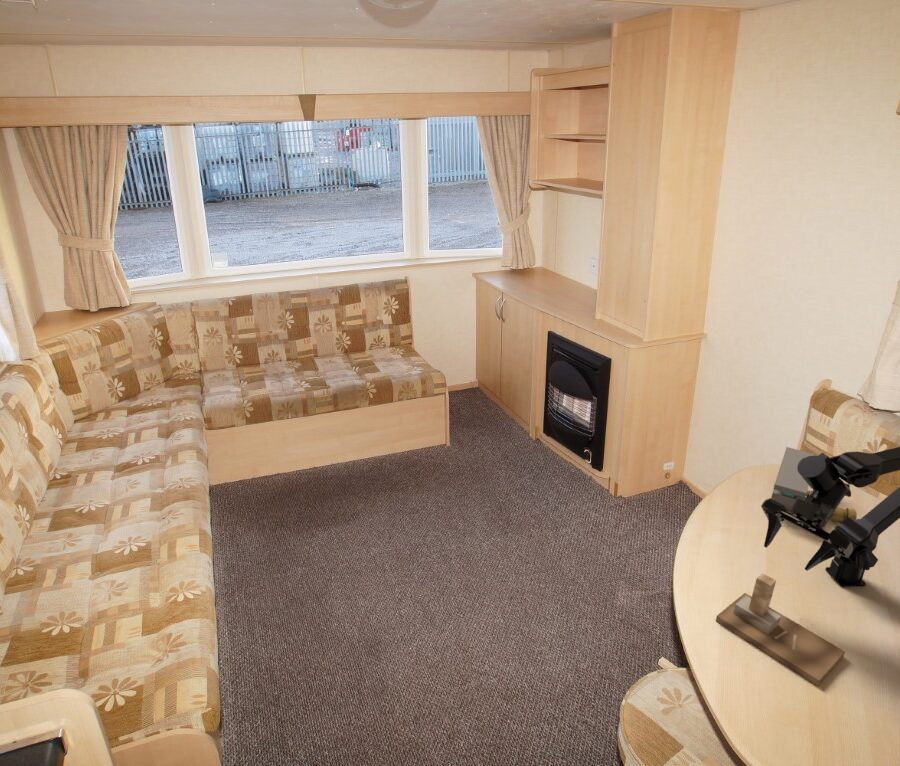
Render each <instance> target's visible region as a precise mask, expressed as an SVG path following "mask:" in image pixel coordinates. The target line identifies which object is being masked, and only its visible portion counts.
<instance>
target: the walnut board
mask: <svg viewBox="0 0 900 766" xmlns="http://www.w3.org/2000/svg"><path fill="white" fill-rule="evenodd" d="M745 596H748V597H749V598H752V595H749V594H748V593H746V592H744V593H743V594H742V595H740V596H739V597H738V598H737V599H735V600H734V601H733V602H731V604H730V605H728V606H727V607H725V608H724V609H723V610H722V611H721V612H720V613H718V614H716V617H715V622H717V623H718V624H720V625H721V626H723V627H724V628H725V629H727V630H729V631H731V632H732V633H734V634H735V635H737V636H739V638H741V639H743V640H745V641H746V642H748V643H750V644H751V645H752V646H754V647H756V648H757V649H759V650H761V651H762V652H764V653H765V654H766V655H768V656H770V657H771V658H773V660H774V659H775V660H776V661H778V662H779V663H781V664H782V665H783V666H785V667H786V668H789V669H790V670H792V672H795V673H796V674H798V675H799V676H801V677H802V678H804V679H805V680H808V682H810V683H812V685H813V684H814V685H815V686H816V687H817V686H819V685H820V684H821V683H822V681H823V680H824V679H826V677H827V676H828V674H830V672H832V671H833V669H834V668H835V667H836V666H837V665H838V663H839V662H840V661H841V660H842V659H843V658H844V656H845V653H846V650H843V649H841V647H838V646H837V645H835V644H834V643H831V642H830V641H828V640H827V639H825V638H822V637H821V636H820V635H818V634H816V633H814V632H812V631H810V630H809V629H808V628H805V626H803V625H801V624H799V623H797V622H796V621H795V620H792V619H791V618H789V617H787V616H785V615H784V614H782V613H780V612H778V611H777V610H775V609H773V608H772V607H770V606H769V608H768V609H770V610H771V611H773V612H775V613H777V614H778V615H780V616H781V618H780V622H779V625H778V626H777V627H776V628H775V629H774V630H773V631H772V632H771V633H769V634H767V633H765V632H763V631H762V630H760V629H758V628H757V627H755V626H754V625H752V624H750V623H749V622H747V621H746V620H744V619H742V618H741V617H739V616H737V615H736V614H734V613H733V612H734V608H735V604H736V603H738V602H739V601H740V600H741V599H742V598H744V597H745Z"/></svg>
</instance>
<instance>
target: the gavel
mask: <svg viewBox="0 0 900 766" xmlns="http://www.w3.org/2000/svg"><path fill="white" fill-rule="evenodd" d="M857 515H858V514H857V510H856V509H855V508H850V507H846V508H843V507H839V506H838V507H837V508H836V510H835V511H834V513H833V516H832V518H830V519H829V521H833V522H838V523H842V522H843V521H844V520H845V519H846V518H848V517H850V518H851V519H853V520H856V519H857Z"/></svg>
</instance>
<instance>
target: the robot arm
mask: <svg viewBox="0 0 900 766" xmlns="http://www.w3.org/2000/svg"><path fill="white" fill-rule="evenodd" d="M797 470H798V473H799V474H800V475H801V476H802V477H803V479H804V480H805V481H806V482H807V484H808V487H809V488H811V489H812V491H811V492H810V494H806V497H805V499H802V498H799V497H797V498H796V500H795V502H794V504H793V506H792V508H791V510H792V511H793V512H794V513H793V514H792V512H788V511H787V510H786V508H785V506H784V505H783V504H781V503H779V502H777V501H775V500H773V499H771V497H769V498H767V499H765V500H764V501H763V502H762V504H761V505H760V507H761V509H762V511H763V513H764V515H765V516H766V518H767V520H768V522H767V524H768V525H767V530H766V534H765V539H764V543H763V547H764V548H765V549H766V548H768V547H769V546H770V545H771V544H772V542H773V540H774V538H775V537H776V536H777V534H778V532H779V531H780V529H781V528H782V523H781V522H784V521H786V522H788V523H790V524H792V525H794V526H796V527H798V528H800V529H801V530H804V531H805V532H808V533H809V534H811V535H814V536H815V537H816V538H817V537H818V539H821V540H822V543H821V545H820V547H819V548H818V550H817V551H816V552H815V554H813V556H812V557H811V559H810V560H809V561H808V562H807V563H806V565H805V567H804V570H805V571H806V572H808V571H809V570H811V569H813V568H814V567H816V566H817V565H820V564H821V563H823V562H825V561H827V560H829V559H831V558H832V559H831V561H830V566H827V567H826V566H825V569H824V570H825V571H826V572H827V573H828V574H829V575H830V577H831V578H832V579H833V580H834V581H835V582H836V583H837V585H838V586H840V587H843V588H844V587H865V586H866V585H867V582H865V581H864V580H863V577H864V576H865V575H864V574H865V571H870V569H871V568H874V567H875V566H876V564H877V563H878V561H879V559H878V558H877V556H876V555H875V554H874V553H873V552H874V550H876V548H877V544H878V541H879V540H878V539H879V536H880V535H881V534H882V533H884V532H885V531H886V530H887V529H888V528H890V527H891V526H892V525H893V524H894V523H896V522H897V521H898V520H899V519H900V486H899V487H897V488H896V489H895V490H894V491H892V492H891V493H890V494H889V495H887V496H886V497H885V498H884V499H883V500H881V501H880V502H879V503H878V504H876V506H874V507H873V508H872V509H871V510H869V512H867V513H866V514H865V515H864V516H862V517H861V518H856V520H853V519H851V518H850V517H848V518H846V519H845V520H844V521H843V522H840V523H838V525H836V526H834V529H832V530H831V531H830V532H828V531H826V530H824V528H825V526H826V525H827V523H828V522H829V521H830V520H829V519H830V518H832V516H833V513H834V511H835V510H836V508H837V507H839V505H840V504H841V502H842V500H843V499H844V497H848V498H850V497H852V491H851V488H850V487H851V486H853V487H856V488H857V489H858V488H864V487H867V486H870V485H871V484H874V483H877V481H878V479H879V478H880V477H881V476H883V475H885V474H886V475H887V474H891V473H894V472H895V473H896V472H897V471H900V446H898V447H893V448H889V449H884V450H881V451H877V452H871V453H869V452H863V451H845V452H844V453H841V454H839V455H835V456H831V457H830V456H829V455H827V454H826V453H824V452H820V454H818V455H815V456H808V457H806V458H803V459H802V460H801V461H800V462H799V464H798V466H797ZM794 514H795V515H794Z"/></svg>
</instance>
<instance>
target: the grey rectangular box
mask: <svg viewBox="0 0 900 766" xmlns="http://www.w3.org/2000/svg"><path fill="white" fill-rule="evenodd" d="M808 456H817V455H816V454H815V453H811V452H808V451H804V450H799V449H795V448H792V447H788V446H786V447H785V451H784V454H783V458H782V460H781V463H780V467H779V470H778V472H777V476H776V479H775V482H774V485H773V490H772V493H771V497H770V498H771V499H773V500H775V501H777V502H779V503H781V504H783V505H784V506H785V508H786V510H787V512H789V513H791V514H792V513H793V514H795V513H794V512H793V511H792V510H791V508H792V506H793V504H794V502H795V500H796V498H797V497H799V498H802V499H805V498H806V496H807V495H808V494H807V493H808V489H809V485H808V484H807V482H806V481H805V480H804V479H803V477H802V476H801V475H800V474H799V473H798V470H797V466H798V464H799V462H800V461H801V460H802V459H803V458H806V457H808Z"/></svg>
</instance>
